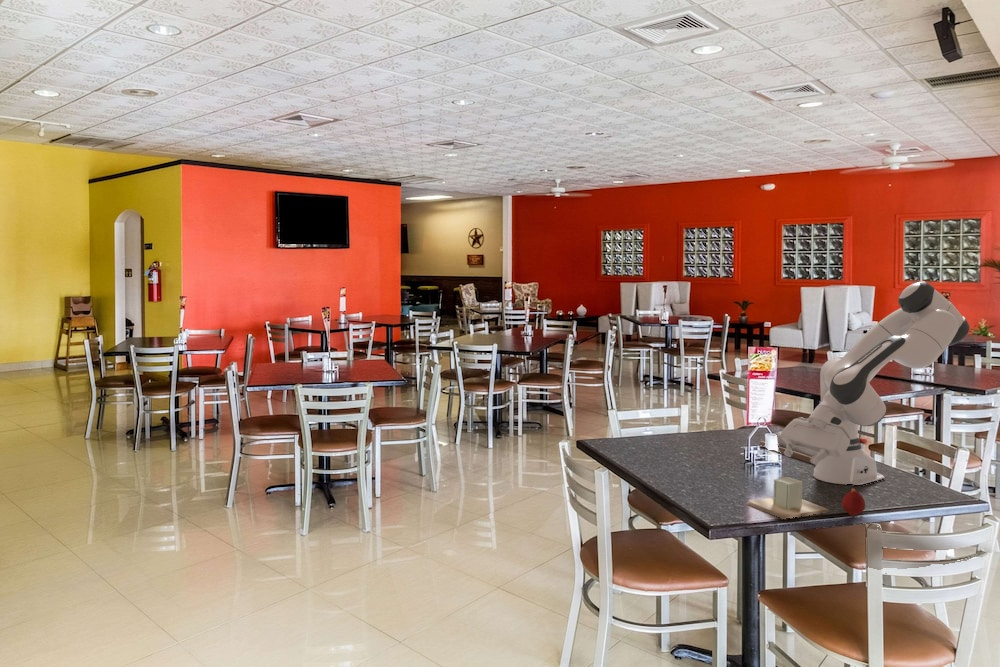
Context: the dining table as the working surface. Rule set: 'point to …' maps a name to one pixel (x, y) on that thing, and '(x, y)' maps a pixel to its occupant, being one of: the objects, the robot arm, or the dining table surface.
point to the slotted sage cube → (787, 492)
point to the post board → (785, 513)
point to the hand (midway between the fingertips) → (799, 459)
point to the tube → (796, 447)
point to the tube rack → (795, 454)
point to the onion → (853, 503)
